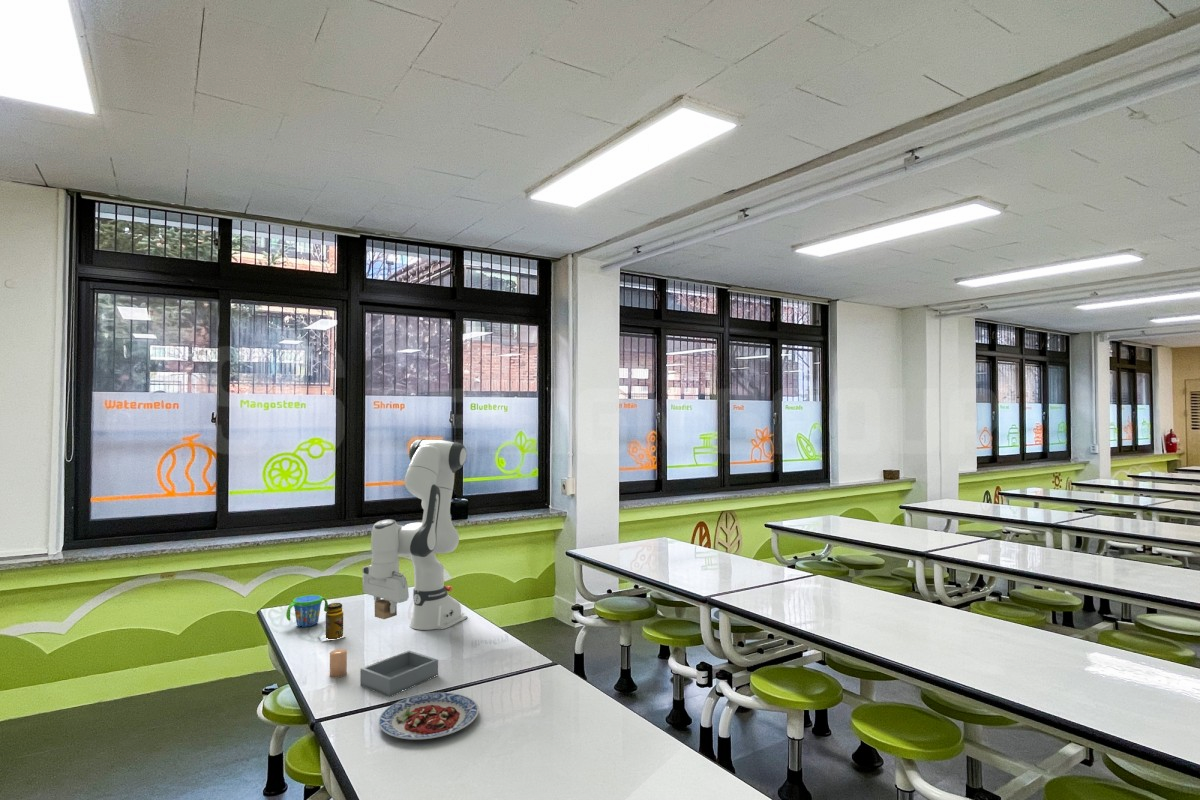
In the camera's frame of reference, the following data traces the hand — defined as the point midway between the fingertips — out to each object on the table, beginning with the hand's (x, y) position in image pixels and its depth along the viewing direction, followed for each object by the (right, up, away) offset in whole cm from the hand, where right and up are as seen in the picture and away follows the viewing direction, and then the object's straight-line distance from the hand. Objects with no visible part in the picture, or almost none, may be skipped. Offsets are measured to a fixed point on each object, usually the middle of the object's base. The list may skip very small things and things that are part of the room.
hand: (385, 611), depth 215 cm
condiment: (-27, -17, +21) cm, 38 cm away
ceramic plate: (+26, -16, -43) cm, 53 cm away
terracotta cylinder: (-11, -16, -12) cm, 23 cm away
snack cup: (-42, -17, +35) cm, 57 cm away
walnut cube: (0, -2, 0) cm, 2 cm away
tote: (+10, -16, -17) cm, 26 cm away
